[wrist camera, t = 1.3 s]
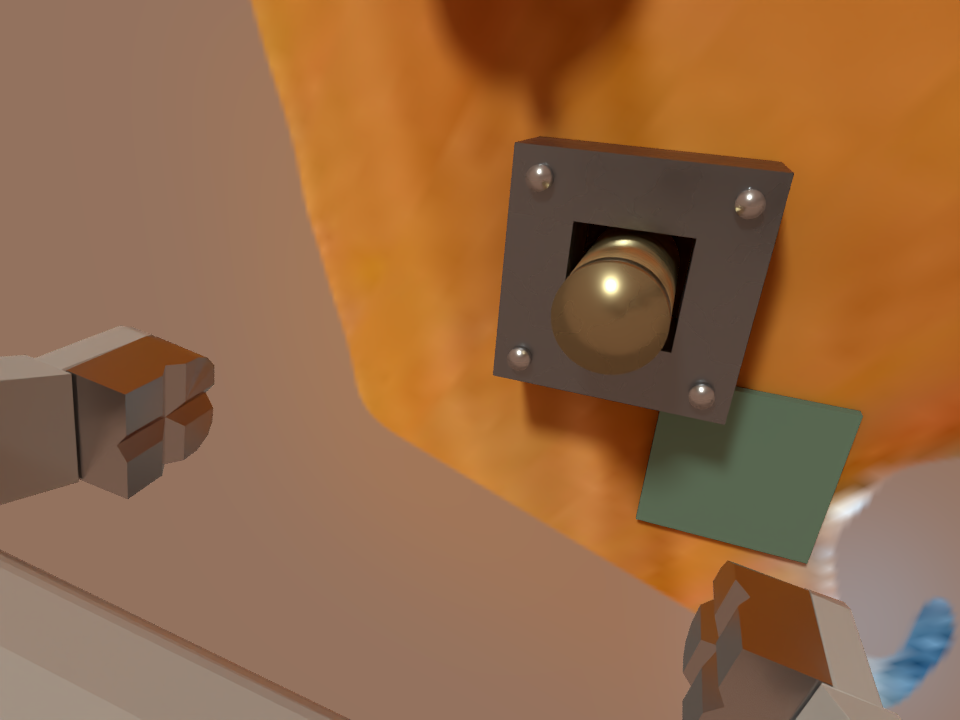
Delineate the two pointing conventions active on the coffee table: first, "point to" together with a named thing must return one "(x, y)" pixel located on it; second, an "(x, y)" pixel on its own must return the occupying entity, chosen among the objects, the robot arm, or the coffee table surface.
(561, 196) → the housing
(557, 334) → the plug
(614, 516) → the coffee table surface
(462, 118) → the coffee table surface
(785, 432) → the coaster
